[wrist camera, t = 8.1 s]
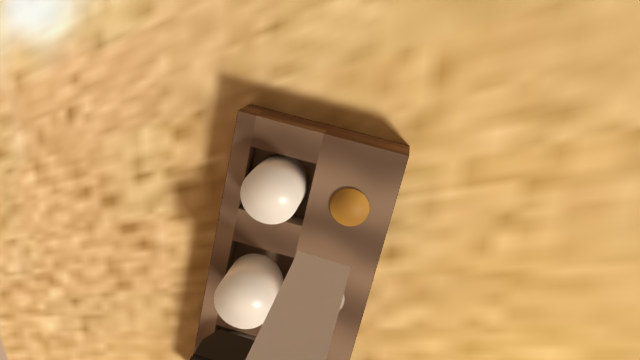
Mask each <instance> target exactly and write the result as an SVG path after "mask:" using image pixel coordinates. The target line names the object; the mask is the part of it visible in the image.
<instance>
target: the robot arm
mask: <svg viewBox="0 0 640 360" xmlns="http://www.w3.org/2000/svg"><path fill="white" fill-rule="evenodd" d="M350 268H351V267H350V266H347V265H344V264H340V263H337V262H333V261H330V260H327V259H323V258H320V257H317V256H313V255H310V254H306V253H303V252H300V251H298V252H297V255H296V257H295V259H294V261H293V263H292V265H291V267H290V269H289V271H288V273H287V275H286V277H285V279H284V281H283V283H282V285H281V287H280V290H279V292H278V294H277V296H276V298H275V300H274V302H273V304H272V306H271V308H270V310H269V312H268V314H267V316H266V318H265V320H264V322H263V325H262V327H261V329H260V331H259V333H258V335H257V337H256V339H255V340H252V339H249V338H246V337H243V336H240V335H236V334H233V333H230V332H227V331H223V330H220V329H219V330H217V331H216V332H214V333H212V334H211V335H209V336H207V337H206V338H204V339H203V340H202V341H201V343H200V344H199V346H198V348H197V349H196V351H195V352H194V354H193V357H191V359H190V360H326V358H327V354H328V350H329V347H330V343H331V339H332V335H333V332H334V328H335V324H336V320H337V317H338V313H339V309H340V306H341V302H342V298H343V294H344V291H345V287H346V283H347V280H348V276H349V272H350Z"/></svg>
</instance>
